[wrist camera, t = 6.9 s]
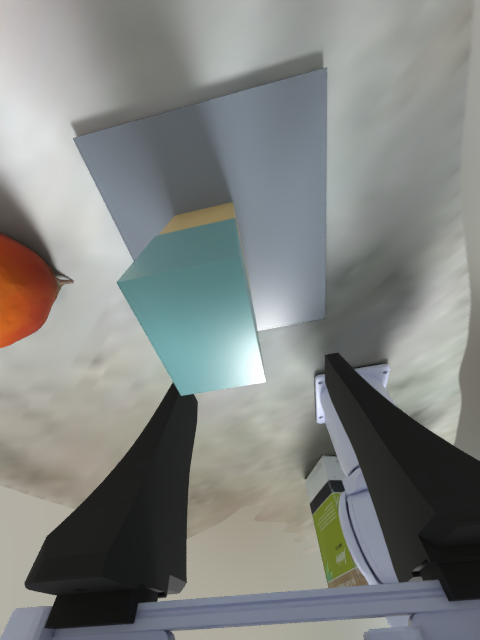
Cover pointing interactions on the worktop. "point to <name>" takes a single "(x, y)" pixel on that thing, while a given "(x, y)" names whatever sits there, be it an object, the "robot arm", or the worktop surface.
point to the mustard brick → (203, 220)
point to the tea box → (331, 523)
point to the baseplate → (232, 184)
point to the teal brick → (197, 307)
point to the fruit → (24, 291)
